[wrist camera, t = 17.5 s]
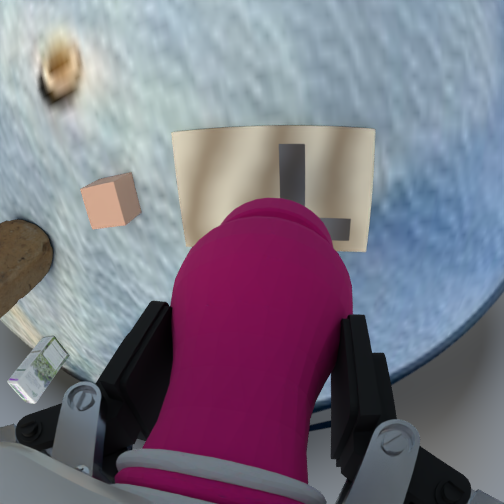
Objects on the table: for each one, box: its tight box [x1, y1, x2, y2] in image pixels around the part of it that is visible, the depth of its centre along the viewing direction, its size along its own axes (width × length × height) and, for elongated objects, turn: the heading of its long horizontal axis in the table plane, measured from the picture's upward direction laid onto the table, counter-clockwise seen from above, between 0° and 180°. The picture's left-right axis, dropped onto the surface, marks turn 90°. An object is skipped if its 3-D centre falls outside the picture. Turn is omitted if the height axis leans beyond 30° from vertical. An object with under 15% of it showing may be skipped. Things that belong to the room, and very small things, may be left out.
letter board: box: [171, 125, 375, 252], centre depth 31 cm, size 20×13×1 cm, turn 93°
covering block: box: [80, 172, 141, 229], centre depth 33 cm, size 5×5×4 cm
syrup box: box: [8, 336, 69, 403], centre depth 47 cm, size 6×6×14 cm
